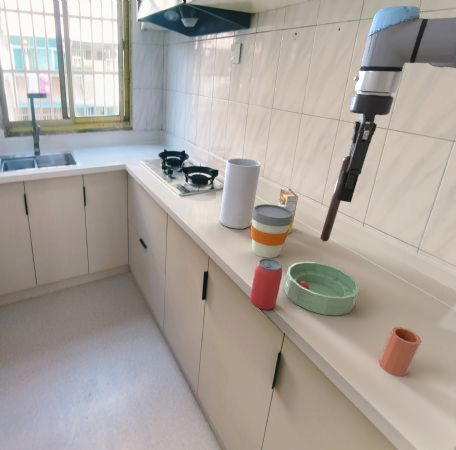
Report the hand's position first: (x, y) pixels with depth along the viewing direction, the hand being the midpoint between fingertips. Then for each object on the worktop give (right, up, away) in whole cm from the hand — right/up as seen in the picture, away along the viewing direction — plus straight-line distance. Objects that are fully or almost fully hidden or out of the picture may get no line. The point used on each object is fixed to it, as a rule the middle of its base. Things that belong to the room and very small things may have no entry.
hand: (344, 199), depth 81 cm
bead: (-5, -23, +12) cm, 26 cm away
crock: (+4, -36, -11) cm, 38 cm away
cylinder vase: (-13, -6, +56) cm, 58 cm away
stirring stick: (-2, -10, +6) cm, 12 cm away
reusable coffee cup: (-8, -15, +35) cm, 39 cm away
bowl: (-1, -26, +12) cm, 28 cm away
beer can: (-17, -27, +8) cm, 33 cm away
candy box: (+5, -8, +53) cm, 54 cm away
